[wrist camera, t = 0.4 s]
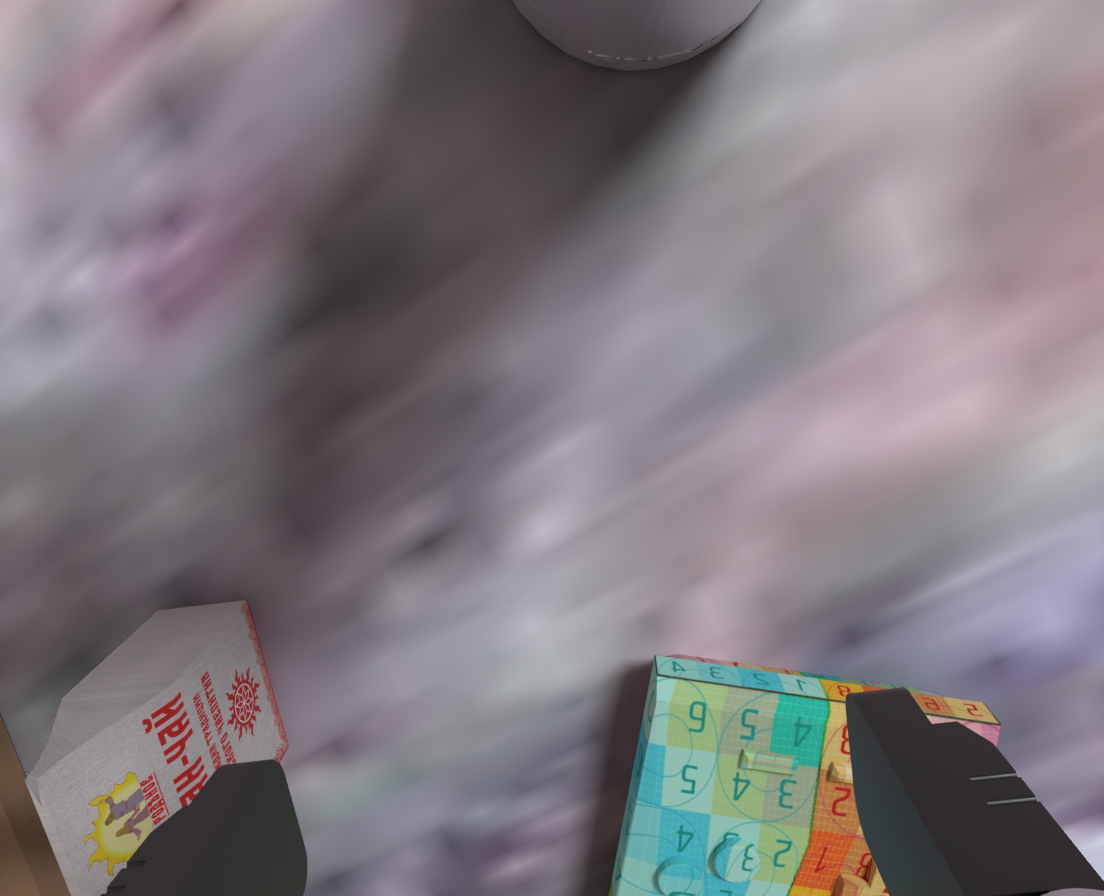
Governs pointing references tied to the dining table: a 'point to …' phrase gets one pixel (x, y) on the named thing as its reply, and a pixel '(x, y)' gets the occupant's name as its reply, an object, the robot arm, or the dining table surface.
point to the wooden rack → (23, 835)
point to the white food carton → (151, 736)
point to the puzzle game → (752, 783)
